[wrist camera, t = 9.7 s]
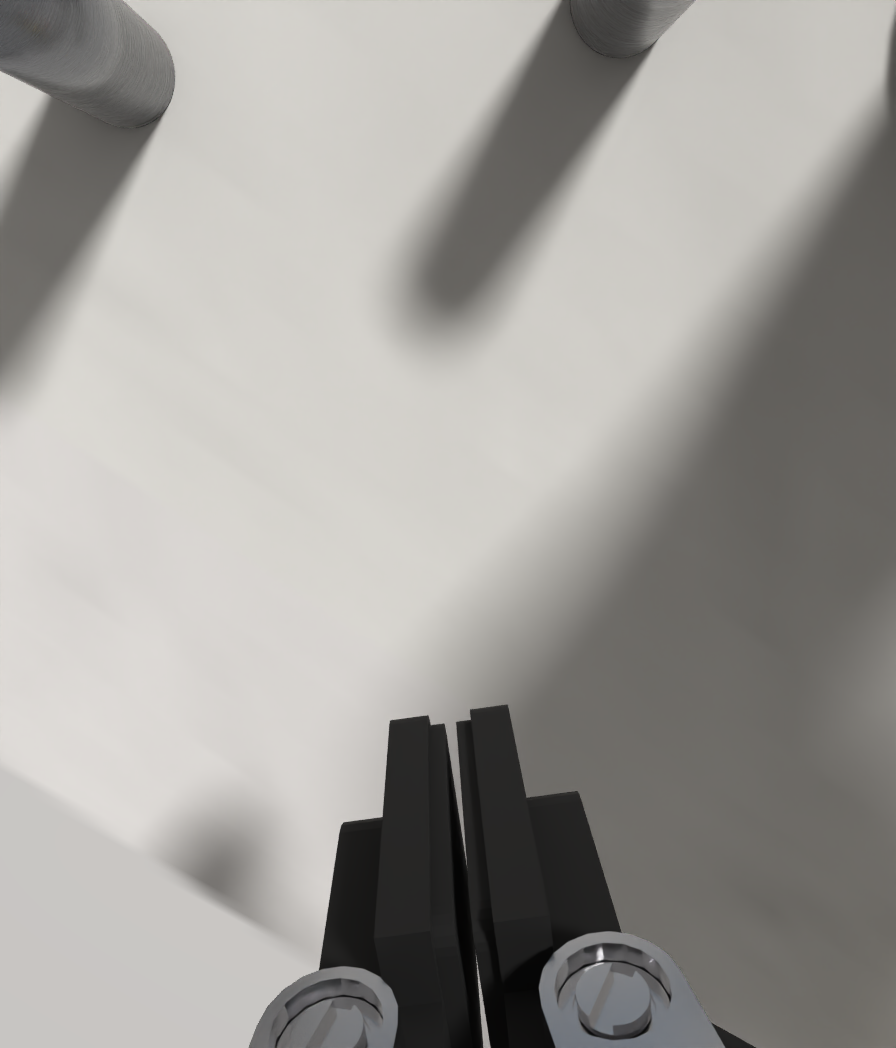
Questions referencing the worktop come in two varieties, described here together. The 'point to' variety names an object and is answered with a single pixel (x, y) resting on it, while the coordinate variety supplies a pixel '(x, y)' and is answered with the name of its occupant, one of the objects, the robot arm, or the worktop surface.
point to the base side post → (624, 23)
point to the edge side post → (89, 57)
